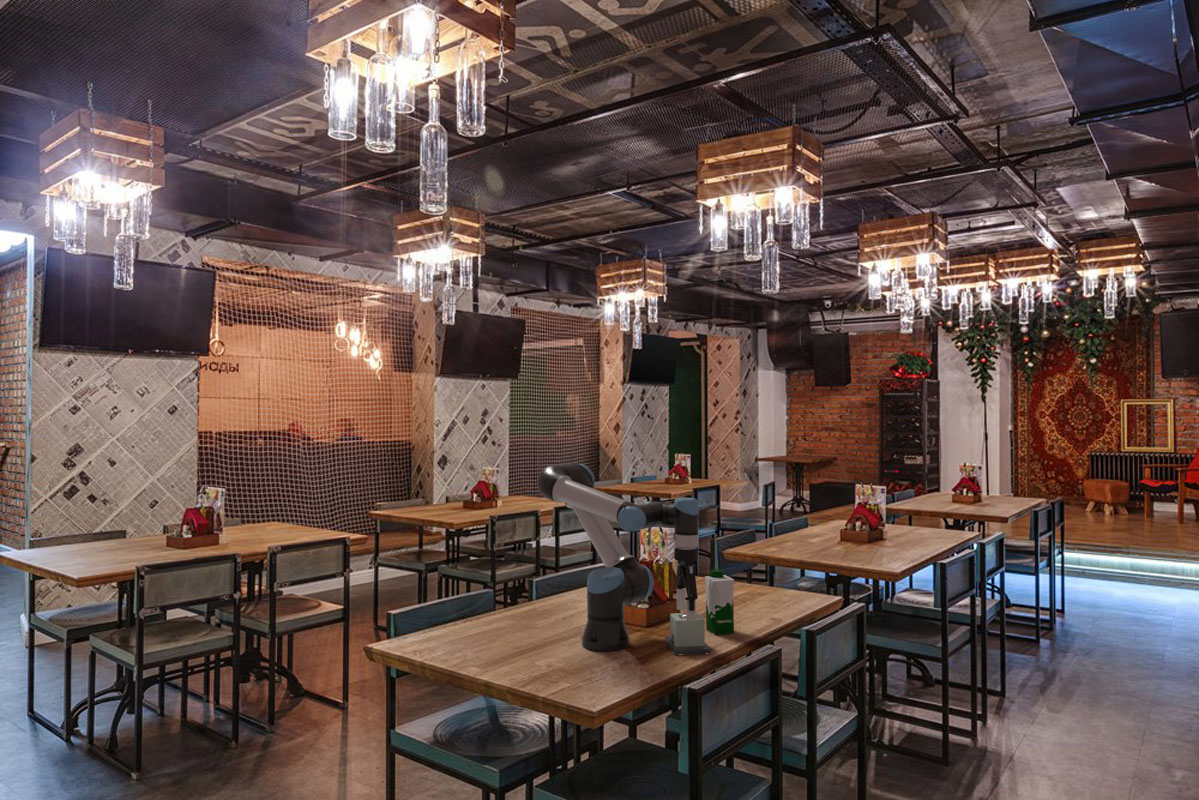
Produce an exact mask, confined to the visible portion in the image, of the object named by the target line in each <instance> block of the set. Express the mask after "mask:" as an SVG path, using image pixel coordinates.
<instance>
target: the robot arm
mask: <svg viewBox="0 0 1199 800" xmlns="http://www.w3.org/2000/svg"><path fill="white" fill-rule="evenodd" d="M595 483H596V482H595V475H594V473H593V471H592V469H590V467H588V466H587V465H585V464H582V463H576V462H571V463H567V464H553V465H552V464H551V465H548V466H546V467H544V469H542V470H541V471H540V473H539V474H538V476H537V479H536V486H537V489H538V491H539V494H540V495H542V497H543V498H546V499H547V500H550V501H551V502H555V503H558V504H563V503H564V504H565V507H566V508H568V509H572V510H573V512H574V513H575V515H576V517H577V519H578V520H579V522H580V524H581V526H582V528H583V529H584V531H585V532H586V535H587V536H588V538H589V540H590V542H591V543H592V545H593V547H594V549H595V550H596V552H597V555H598V556H599V558H600V559H601V561H602V563H603V564H604V568H603V567H600V568H596V569H593V570H592V571H591V572H589V574H588V576H587V582H586V600H587V601H586V603H587V606H586V607H587V611H586V612H587V613H586V614H587V621H586V623H585V624H586V625H585V627H584V630H583V634H582V636H581V637H582V638H581V645H583V646H584V647H583V646H582V647H583V648H585V647H586V648H585V649H587V648H588V649H587V650H590V649H592V650H591V651H596V650H599V652H615V651H621V650H624V649H626V648H628V647H630V643H631V641H630V639H631V638H630V635H629V632H628V631H629V630H628V629H627V626H626V622H625V607H627V606H630V605H633V604H637V603H641V602H642V601H644V600H647V598H649V596H650V595H651V594H652V592H653V590H654V589H653V588H654V584H655V583H654V576H653V573H652V571H651V569H650V568H648V566H646V565H643V564H639V562H638V560H637V558H636V557H635V555H631V554H628V553H627V550H626V549H625V547H624V546H623V543H622V542H621V540H620V539H619V536H618V535H617V534H616V532H615V530H614V528H613V526H612V524H611V523H610V522H614V523H617V524H618V525H619V527H620V528H621V529H622V530H623V531H626V532H638V531H641V530H645V529H650V528H655V527H656V528H657V527H670V528H673V529H674V530H673V531H674V532H673V533H674V536H673V537H672V540H673V541H674V546H675V547H674V549H673V551H674V552H673V553H674V554H673V555H674V560H675V561H677V568H676V576H675V583H674V585H675V586H676V610H677V611H680V610H681V611H683V610H684V611H685V610H686V611H685V613H686V621H695V620H696V613H697V612H696V609H697V608H696V607H697V606H696V600H698V598H699V597H698V589H697V587H698V586H697V577H696V567H695V566H693V562H696V561H698V560H699V548H698V547H699V514H700V512H699V501H698V500H697V498H694V497H677V498H675V499H674V502H673V503H671V502H662V501H657V500H654V501H651V500H649V501H645V502H643V504H636V503H634V502H633V503H632V502H631V501H628V500H626V499H622V498H619V497H617V496H614V495H611V494H609V493H606V492H603V491H601V490H598V489H596V488H595V486H596V485H595ZM609 521H610V522H609ZM620 649H621V650H620ZM614 650H615V651H614Z"/></svg>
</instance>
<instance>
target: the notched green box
mask: <svg viewBox="0 0 1199 800" xmlns="http://www.w3.org/2000/svg"><path fill="white" fill-rule="evenodd" d="M681 614H686V612H681V613H680V612H679V613H678V612H675V613H674V612H673V613H670V614H669V621H670V622H669V632H670V635H669V636H670V639H671V640H672V641H674V645H675V646H676V647H688V646H705V643H706V640H705V639H706V638H705V637H706V635H705V632H706V631H705V629H706V628H705V623H706V619H704V618H703V617H702V615H701V614H699V612H696V620H695V621H686V619H681Z"/></svg>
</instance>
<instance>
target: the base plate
mask: <svg viewBox="0 0 1199 800" xmlns="http://www.w3.org/2000/svg"><path fill="white" fill-rule="evenodd" d="M681 619H686V614H681ZM664 641H665V642H666V644H667V646H668V645H669V646H668V647H669V648H671V649H672V650H671V649H670V650H671V651H672V653H673V652H674V653H673V654H674V656H680V655H679V654H698V655H707V654H706V653H711V654H712V651H711V650H712V649H711V648H710V647H709V646H708V644H707V643H706V642H705V646H688V647H676V646H675V645H674V641H672V640H671V639H670V635H665V636H664Z"/></svg>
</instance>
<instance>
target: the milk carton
mask: <svg viewBox="0 0 1199 800" xmlns="http://www.w3.org/2000/svg"><path fill="white" fill-rule="evenodd" d="M704 584H705V623H706V628H705V629H706V630H707V631H708V630H709V631H708V632H710V633H711V632H712V634H713V633H714V634H715V635H714V634H713V635H714V636H717V635H716V634H719V635H728V634H735V626H734V625H735V624H734V621H735V620H734V619H735V618H734V615H735V614H734V609H735V607H734V605H735V604H734V588H735V587H734V586H735V579H734V578H732V577H730V576H727V575H726V574H724V571H723V569H711V570H710V575H707V576H706V575H705V576H704Z"/></svg>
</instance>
